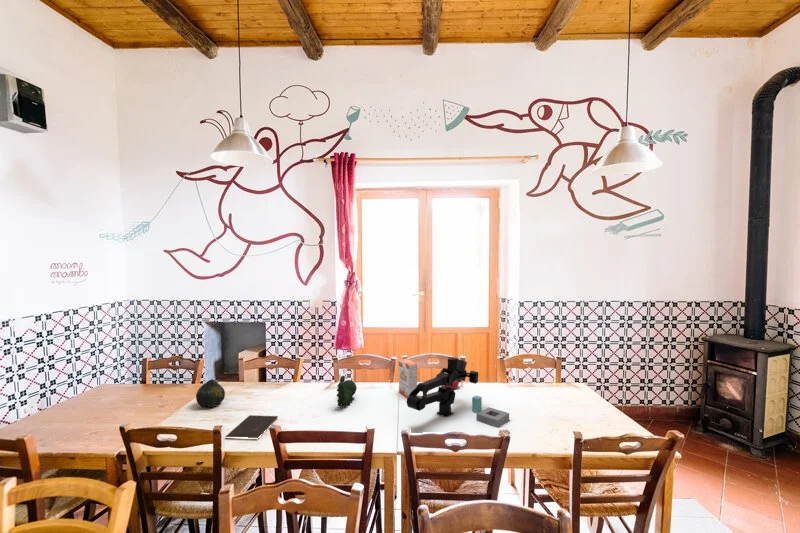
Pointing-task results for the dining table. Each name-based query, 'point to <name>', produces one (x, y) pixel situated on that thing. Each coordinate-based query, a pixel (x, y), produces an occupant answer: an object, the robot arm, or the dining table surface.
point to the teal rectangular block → (476, 404)
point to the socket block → (492, 417)
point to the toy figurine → (345, 391)
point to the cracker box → (407, 376)
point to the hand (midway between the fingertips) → (470, 372)
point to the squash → (210, 394)
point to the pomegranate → (454, 385)
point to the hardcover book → (252, 426)
